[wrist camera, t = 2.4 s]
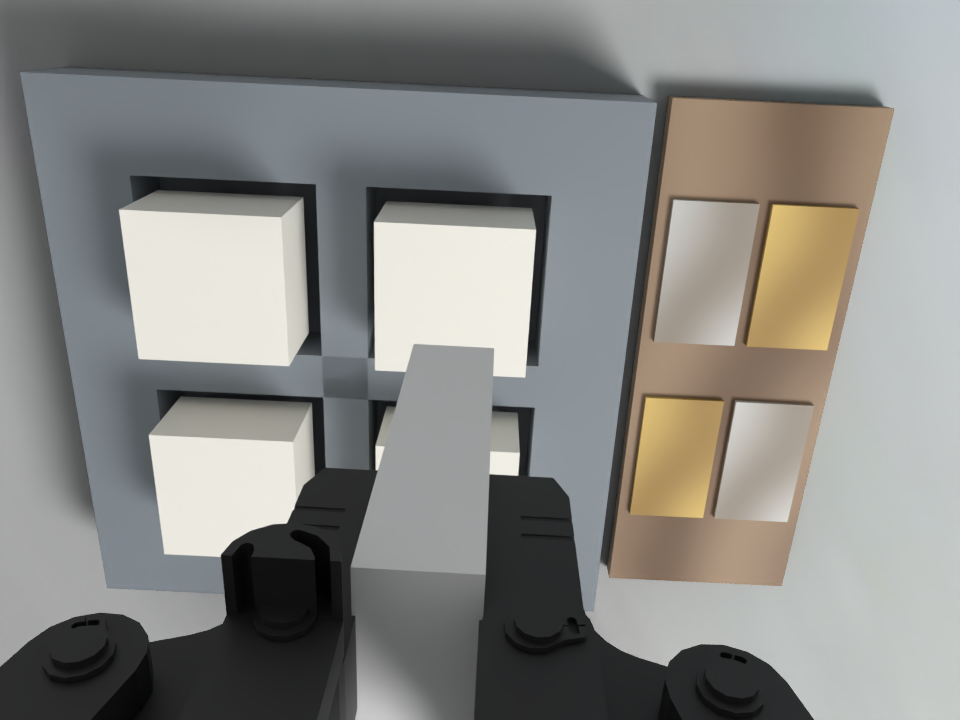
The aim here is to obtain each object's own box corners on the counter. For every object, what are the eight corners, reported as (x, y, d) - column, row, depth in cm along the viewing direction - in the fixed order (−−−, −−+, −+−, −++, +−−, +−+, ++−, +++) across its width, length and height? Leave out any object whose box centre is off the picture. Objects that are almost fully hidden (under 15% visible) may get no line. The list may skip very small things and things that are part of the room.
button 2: (386, 516, 27) (376, 564, 25) (386, 406, 26) (375, 446, 23) (509, 522, 27) (511, 570, 25) (517, 412, 26) (519, 452, 23)
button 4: (193, 507, 27) (164, 554, 25) (181, 396, 26) (148, 434, 23) (316, 513, 27) (299, 560, 25) (311, 402, 26) (293, 441, 23)
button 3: (173, 326, 25) (138, 358, 22) (158, 190, 23) (118, 209, 21) (309, 332, 25) (288, 366, 22) (303, 197, 23) (281, 217, 21)
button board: (136, 545, 30) (107, 588, 28) (66, 66, 24) (19, 72, 21) (586, 566, 30) (593, 611, 28) (641, 94, 24) (657, 102, 21)
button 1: (386, 336, 25) (374, 370, 22) (386, 200, 23) (374, 221, 21) (522, 343, 25) (525, 377, 22) (532, 208, 23) (536, 229, 21)
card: (607, 567, 30) (609, 580, 30) (668, 96, 24) (674, 98, 23) (776, 575, 30) (782, 588, 30) (885, 106, 24) (896, 109, 23)
